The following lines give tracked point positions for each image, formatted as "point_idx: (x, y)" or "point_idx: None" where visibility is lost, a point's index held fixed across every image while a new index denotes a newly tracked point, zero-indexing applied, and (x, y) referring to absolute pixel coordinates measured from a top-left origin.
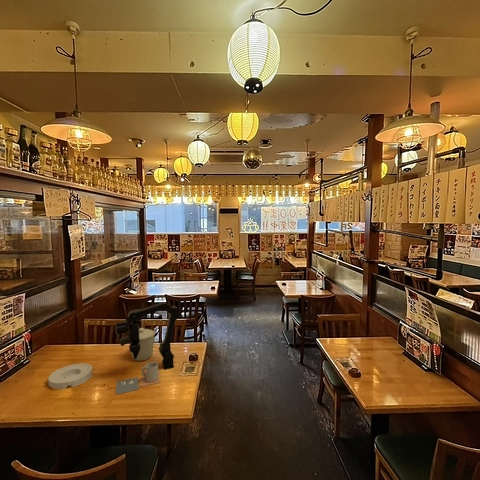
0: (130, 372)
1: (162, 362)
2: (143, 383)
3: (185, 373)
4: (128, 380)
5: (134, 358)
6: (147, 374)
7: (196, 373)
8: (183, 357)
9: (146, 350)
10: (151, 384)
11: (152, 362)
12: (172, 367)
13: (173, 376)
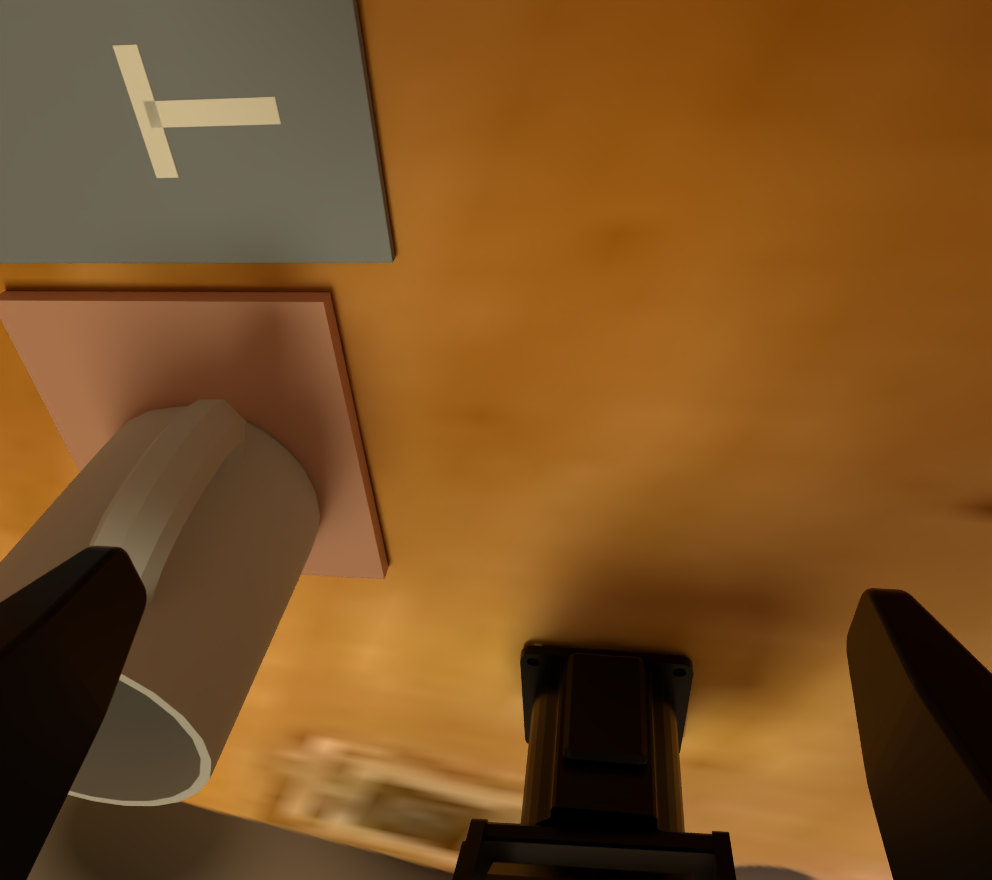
0: (748, 71)
1: (590, 726)
2: (92, 352)
3: (331, 773)
4: (277, 31)
5: (52, 575)
6: (35, 523)
7: (304, 827)
8: (776, 845)
9: None
10: (79, 455)
11: (204, 750)
12: (525, 727)
13: (289, 685)
